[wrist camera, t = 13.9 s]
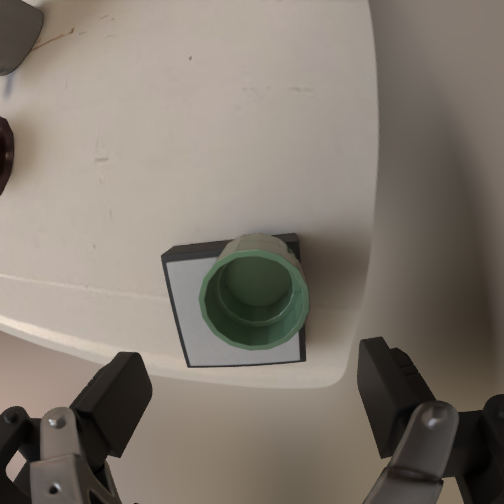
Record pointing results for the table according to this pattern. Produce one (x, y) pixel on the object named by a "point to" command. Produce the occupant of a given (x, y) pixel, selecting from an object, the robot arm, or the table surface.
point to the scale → (190, 318)
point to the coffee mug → (17, 32)
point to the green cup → (255, 293)
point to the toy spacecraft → (5, 152)
